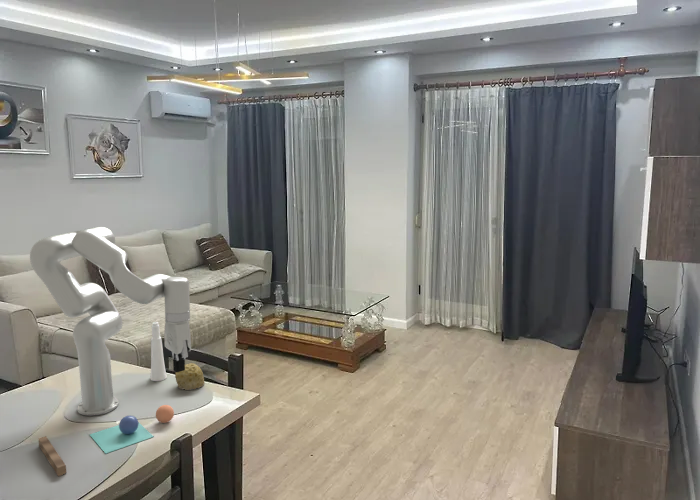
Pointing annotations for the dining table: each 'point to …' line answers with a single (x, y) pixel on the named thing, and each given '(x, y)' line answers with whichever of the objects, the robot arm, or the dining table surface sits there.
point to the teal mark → (119, 438)
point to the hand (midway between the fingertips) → (179, 370)
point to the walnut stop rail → (52, 456)
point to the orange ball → (164, 413)
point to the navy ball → (128, 424)
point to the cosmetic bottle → (157, 355)
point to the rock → (190, 377)
